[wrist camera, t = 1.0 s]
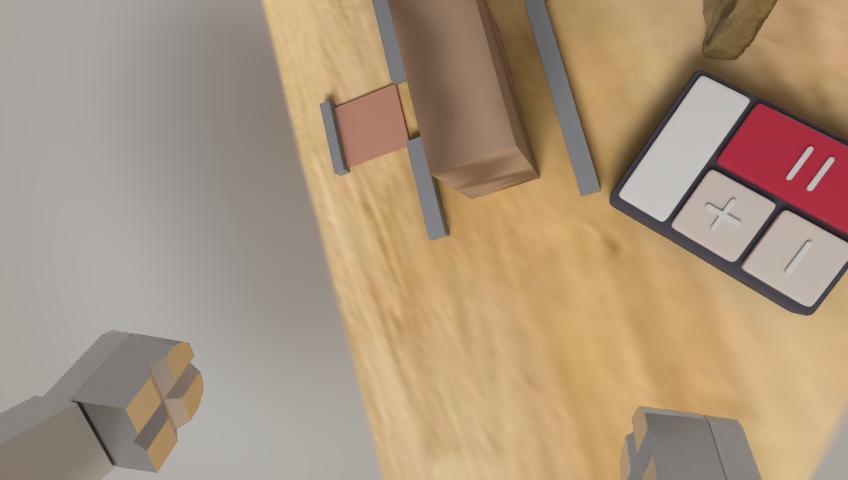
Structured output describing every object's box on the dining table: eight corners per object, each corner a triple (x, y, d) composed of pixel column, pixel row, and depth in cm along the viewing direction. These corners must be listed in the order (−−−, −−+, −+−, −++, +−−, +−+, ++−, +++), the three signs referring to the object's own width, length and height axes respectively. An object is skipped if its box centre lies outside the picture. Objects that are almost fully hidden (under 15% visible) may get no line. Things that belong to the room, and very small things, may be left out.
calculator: (814, 320, 34) (607, 196, 38) (791, 314, 38) (606, 203, 42) (927, 174, 33) (700, 62, 37) (891, 184, 37) (689, 83, 41)
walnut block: (498, 27, 47) (463, -46, 36) (540, 178, 44) (516, 145, 34) (435, 53, 48) (385, -10, 38) (472, 199, 46) (429, 174, 36)
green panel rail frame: (580, -201, 46) (574, -269, 40) (701, 161, 40) (714, 141, 34) (292, -49, 55) (255, -87, 49) (359, 261, 49) (325, 259, 44)
